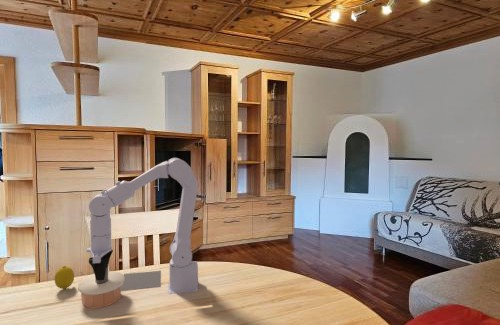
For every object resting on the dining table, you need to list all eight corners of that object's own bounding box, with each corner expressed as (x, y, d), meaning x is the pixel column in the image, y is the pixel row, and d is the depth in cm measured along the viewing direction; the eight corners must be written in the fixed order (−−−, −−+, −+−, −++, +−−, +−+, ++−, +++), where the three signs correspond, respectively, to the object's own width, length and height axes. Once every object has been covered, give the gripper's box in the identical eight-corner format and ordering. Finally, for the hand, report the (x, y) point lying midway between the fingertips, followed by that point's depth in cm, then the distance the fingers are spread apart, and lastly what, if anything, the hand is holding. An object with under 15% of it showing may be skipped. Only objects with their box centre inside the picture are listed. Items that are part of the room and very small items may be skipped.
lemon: (65, 294, 99) (64, 270, 98) (50, 292, 100) (50, 268, 99) (78, 286, 104) (77, 263, 104) (64, 284, 105) (63, 261, 105)
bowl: (122, 289, 103) (122, 276, 102) (118, 306, 92) (118, 292, 92) (86, 293, 100) (86, 279, 100) (78, 311, 90) (77, 296, 89)
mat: (160, 272, 117) (160, 270, 117) (160, 288, 104) (160, 286, 104) (123, 275, 113) (123, 274, 113) (119, 292, 101) (119, 291, 101)
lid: (125, 271, 104) (125, 259, 104) (123, 291, 92) (123, 277, 91) (82, 276, 100) (82, 263, 99) (73, 297, 88) (73, 282, 87)
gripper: (91, 227, 100) (92, 268, 101) (80, 242, 86) (81, 289, 88) (115, 226, 102) (115, 266, 103) (107, 240, 88) (108, 286, 89)
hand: (101, 276), depth 96 cm, fingers closed on lid, 3 cm apart
